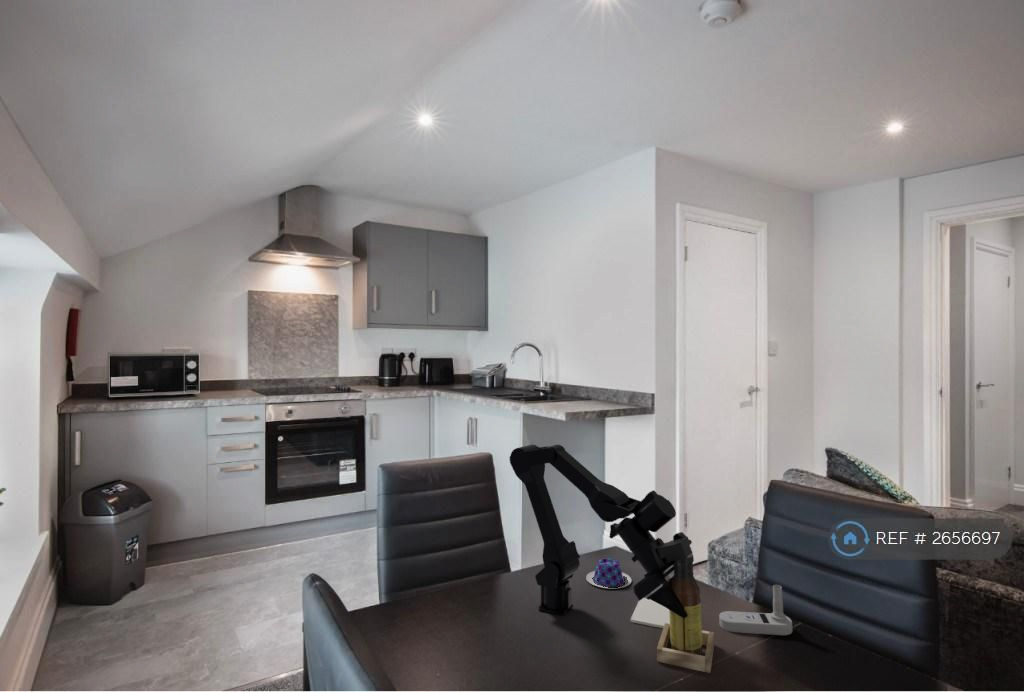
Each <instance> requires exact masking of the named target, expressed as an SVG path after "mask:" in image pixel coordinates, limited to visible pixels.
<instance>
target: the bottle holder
mask: <svg viewBox="0 0 1024 692" xmlns="http://www.w3.org/2000/svg"><path fill="white" fill-rule="evenodd" d="M669 639H670V624H667V623H665V625H664V628H662V631H661V634H660V638H659V640H658V644H657V647H656V662H658V663H662V664H663V663H664V664H668V665H671V666H676V667H681V668H684V669H685V668H686V669H688V670H689V669H690V670H694V671H698V672H704V673H708V674H711V671H712V663H713V657H714V656H713V655H714V649H715V648H714V647H715V632H714V631H710V630H709V631H707V630H703V629H702V646H706V650H705V655H697V654H692V653H687V652H683V651H678V650H673V649H672V648H667V647H668V644H669Z"/></svg>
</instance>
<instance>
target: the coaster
mask: <svg viewBox="0 0 1024 692" xmlns="http://www.w3.org/2000/svg"><path fill="white" fill-rule="evenodd" d="M630 623H633V624H634V623H635V624H639V625H644V626H649V627H653V628H659V629H663V628H664V625H665V623H667V624H670V613H669V609H667V608H665V607H664V606H662V605H660V604H658V603H656V602H654V601H652V600H651V599H649V600H648V599H647V597H644V598H643V599H641V600H640V601H639V600H638V602H637V604H636V606H635V609H634V610H633V613H632V615H631V617H630Z"/></svg>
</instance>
